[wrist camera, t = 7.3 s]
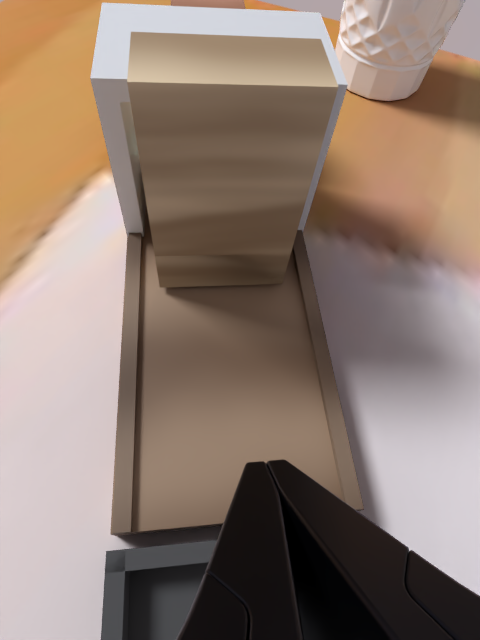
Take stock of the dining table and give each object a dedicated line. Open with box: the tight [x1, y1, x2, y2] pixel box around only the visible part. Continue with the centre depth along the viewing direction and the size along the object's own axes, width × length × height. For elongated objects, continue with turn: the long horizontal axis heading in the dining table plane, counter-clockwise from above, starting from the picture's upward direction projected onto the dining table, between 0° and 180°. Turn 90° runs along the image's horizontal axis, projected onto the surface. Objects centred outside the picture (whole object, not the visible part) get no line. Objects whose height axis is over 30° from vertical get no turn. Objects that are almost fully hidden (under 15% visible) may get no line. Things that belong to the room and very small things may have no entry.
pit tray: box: [101, 540, 217, 640], centre depth 13 cm, size 6×9×2 cm, turn 95°
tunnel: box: [90, 3, 348, 237], centre depth 19 cm, size 5×9×8 cm, turn 95°
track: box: [111, 198, 364, 536], centre depth 20 cm, size 24×9×1 cm, turn 5°
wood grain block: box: [127, 0, 338, 288], centre depth 18 cm, size 14×6×9 cm, turn 5°
